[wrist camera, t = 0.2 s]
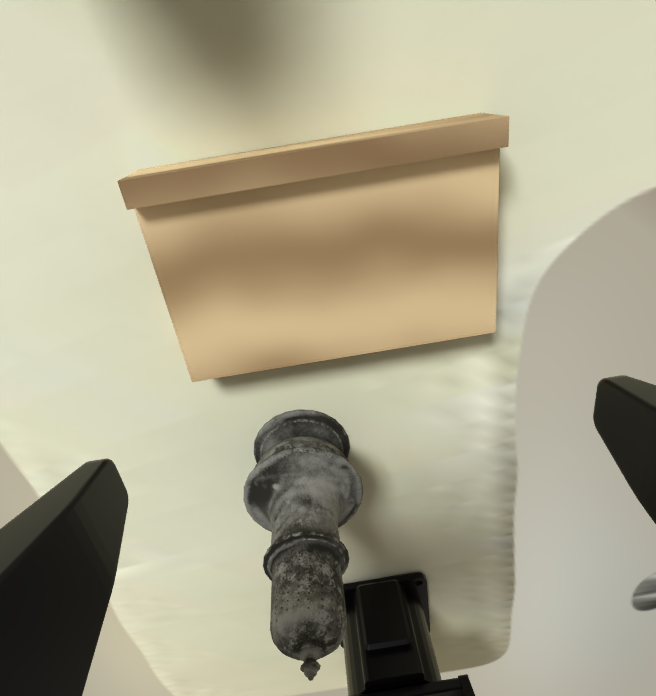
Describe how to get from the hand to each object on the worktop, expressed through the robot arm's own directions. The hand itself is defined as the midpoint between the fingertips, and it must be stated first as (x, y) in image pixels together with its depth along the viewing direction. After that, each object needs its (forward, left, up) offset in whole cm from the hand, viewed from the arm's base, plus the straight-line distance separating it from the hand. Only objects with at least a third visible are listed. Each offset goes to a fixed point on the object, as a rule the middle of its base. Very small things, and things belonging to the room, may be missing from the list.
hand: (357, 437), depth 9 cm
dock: (-1, 0, -14) cm, 14 cm away
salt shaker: (-12, +3, -14) cm, 19 cm away
